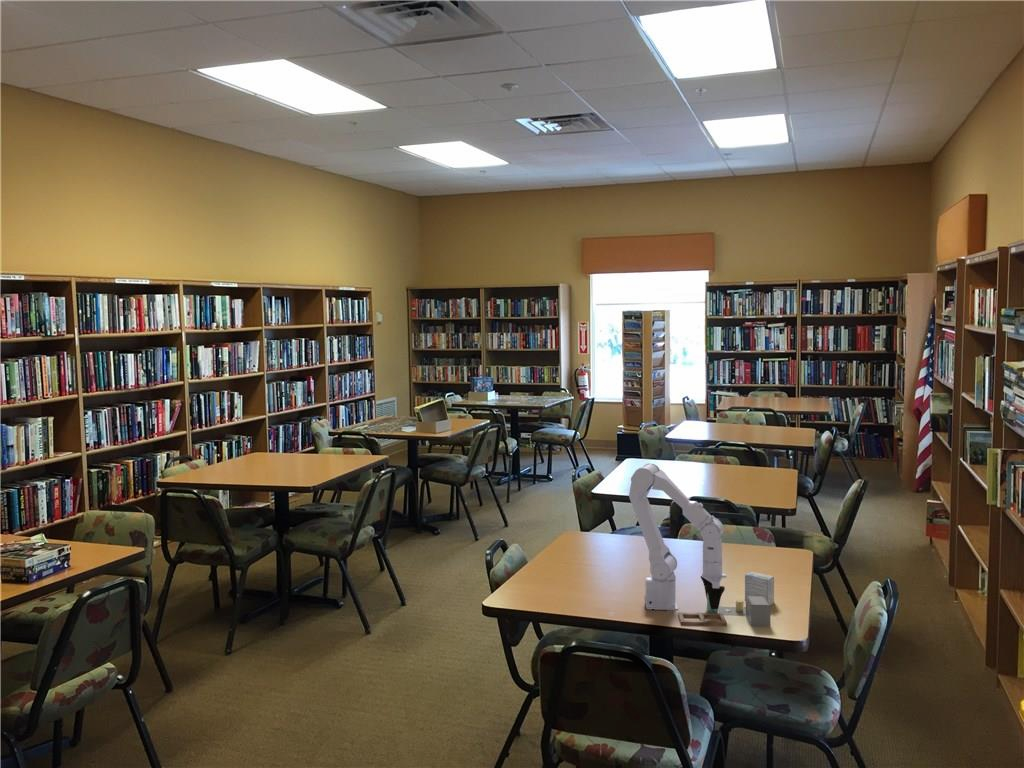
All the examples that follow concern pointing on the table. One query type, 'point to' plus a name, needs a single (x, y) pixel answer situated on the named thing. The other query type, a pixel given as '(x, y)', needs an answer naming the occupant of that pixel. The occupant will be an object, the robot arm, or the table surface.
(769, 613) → the housing
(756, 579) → the medicine box
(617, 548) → the table surface
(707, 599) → the teal peg
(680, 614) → the walnut board
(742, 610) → the tile
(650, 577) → the robot arm
